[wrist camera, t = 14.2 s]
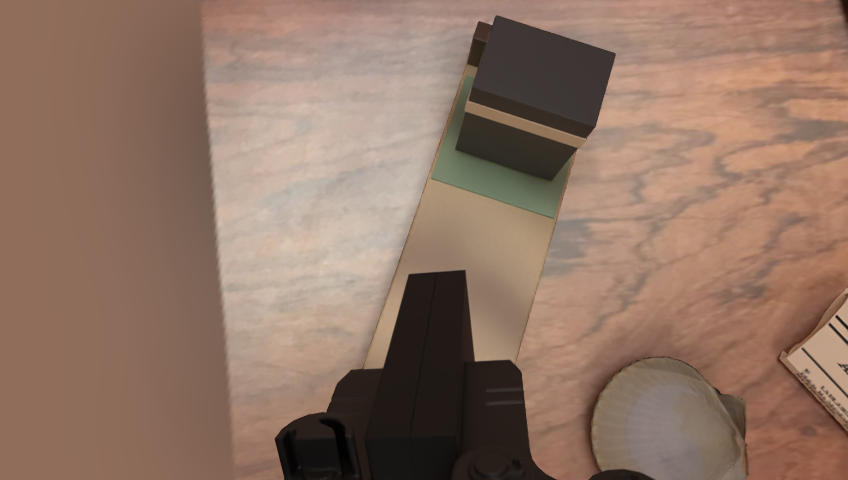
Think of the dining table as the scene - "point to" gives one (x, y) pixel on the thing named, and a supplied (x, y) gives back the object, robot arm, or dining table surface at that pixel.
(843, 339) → the newspaper
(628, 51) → the dining table surface
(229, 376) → the dining table surface
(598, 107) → the dark grey lidded box
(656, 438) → the seashell
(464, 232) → the rail
